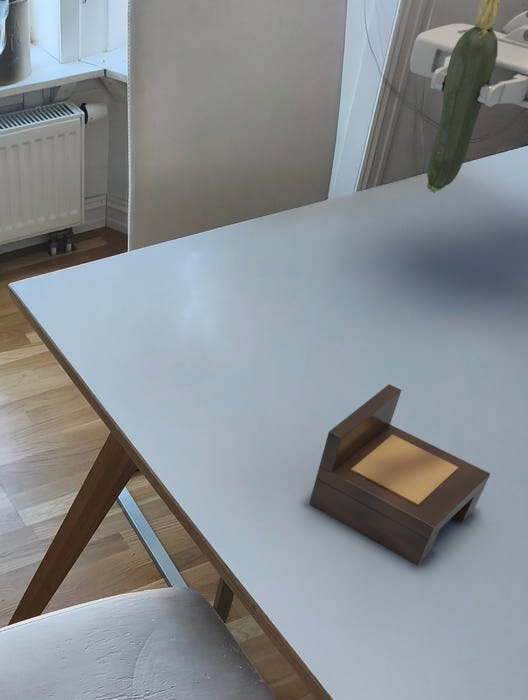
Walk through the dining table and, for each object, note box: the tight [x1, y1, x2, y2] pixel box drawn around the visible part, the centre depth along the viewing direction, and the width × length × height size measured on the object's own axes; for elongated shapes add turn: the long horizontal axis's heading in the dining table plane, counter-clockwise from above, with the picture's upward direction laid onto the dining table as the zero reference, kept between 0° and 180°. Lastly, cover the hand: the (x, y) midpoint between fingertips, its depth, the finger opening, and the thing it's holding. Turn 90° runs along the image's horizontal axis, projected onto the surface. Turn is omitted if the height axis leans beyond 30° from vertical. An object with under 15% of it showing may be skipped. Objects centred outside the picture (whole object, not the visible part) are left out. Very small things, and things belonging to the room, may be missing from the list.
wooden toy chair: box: [308, 383, 491, 566], centre depth 82 cm, size 12×10×9 cm
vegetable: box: [426, 0, 501, 194], centre depth 92 cm, size 4×4×20 cm
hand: (461, 89), depth 91 cm, fingers closed on vegetable, 4 cm apart
